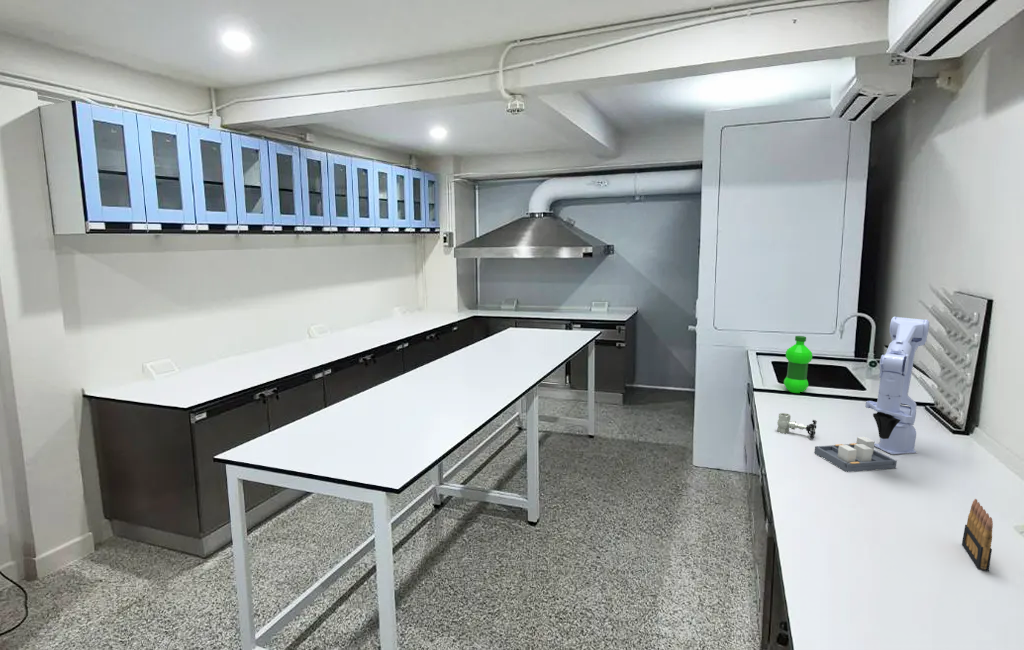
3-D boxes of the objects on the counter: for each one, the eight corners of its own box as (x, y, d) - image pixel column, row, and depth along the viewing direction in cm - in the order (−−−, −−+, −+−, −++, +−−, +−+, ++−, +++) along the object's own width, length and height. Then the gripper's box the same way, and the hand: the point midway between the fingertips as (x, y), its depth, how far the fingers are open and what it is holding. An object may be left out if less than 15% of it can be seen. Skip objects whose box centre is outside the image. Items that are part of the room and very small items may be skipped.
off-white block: (860, 457, 174) (862, 443, 174) (870, 462, 170) (872, 448, 170) (852, 458, 174) (854, 444, 173) (862, 463, 170) (864, 449, 169)
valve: (774, 433, 198) (812, 441, 191) (776, 415, 197) (814, 423, 190) (778, 428, 203) (815, 435, 196) (780, 411, 202) (817, 417, 195)
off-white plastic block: (845, 458, 173) (846, 444, 173) (855, 463, 170) (856, 450, 169) (837, 459, 173) (838, 445, 172) (846, 464, 169) (848, 450, 168)
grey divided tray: (860, 450, 184) (861, 442, 183) (895, 468, 170) (896, 460, 169) (814, 453, 181) (815, 445, 180) (846, 472, 167) (847, 463, 167)
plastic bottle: (807, 396, 242) (813, 340, 237) (780, 392, 247) (786, 337, 243) (809, 390, 250) (815, 336, 246) (783, 386, 256) (789, 333, 251)
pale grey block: (863, 449, 180) (864, 436, 180) (872, 454, 176) (874, 441, 176) (855, 450, 180) (857, 437, 179) (865, 455, 176) (866, 441, 175)
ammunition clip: (961, 543, 130) (969, 496, 127) (971, 545, 129) (979, 497, 127) (977, 569, 120) (986, 518, 118) (988, 571, 119) (997, 520, 117)
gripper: (858, 387, 170) (853, 429, 172) (898, 402, 156) (892, 447, 158) (879, 386, 171) (873, 428, 173) (920, 401, 157) (913, 446, 159)
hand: (884, 437), depth 166 cm, fingers closed
